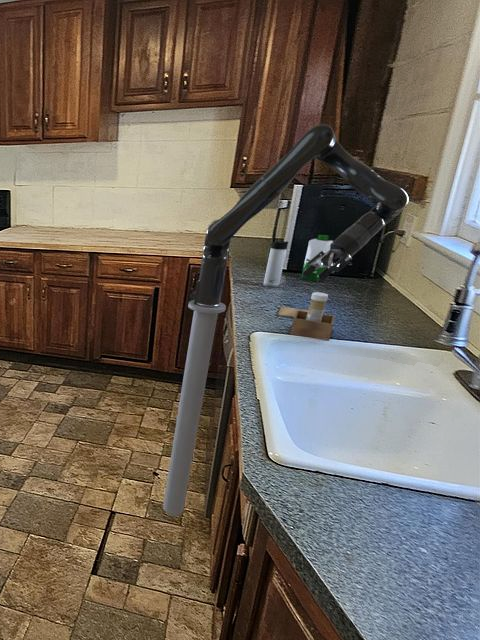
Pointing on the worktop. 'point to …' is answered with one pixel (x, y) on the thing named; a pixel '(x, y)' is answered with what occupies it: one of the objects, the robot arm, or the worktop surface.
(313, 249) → the milk carton
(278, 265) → the travel mug
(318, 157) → the robot arm
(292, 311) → the cork mat
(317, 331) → the cardboard box
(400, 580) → the worktop surface
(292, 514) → the worktop surface
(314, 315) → the sprinkles bottle
